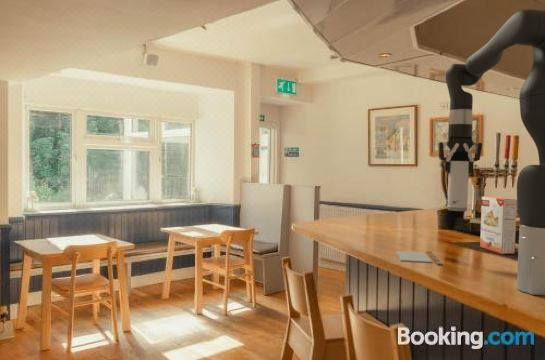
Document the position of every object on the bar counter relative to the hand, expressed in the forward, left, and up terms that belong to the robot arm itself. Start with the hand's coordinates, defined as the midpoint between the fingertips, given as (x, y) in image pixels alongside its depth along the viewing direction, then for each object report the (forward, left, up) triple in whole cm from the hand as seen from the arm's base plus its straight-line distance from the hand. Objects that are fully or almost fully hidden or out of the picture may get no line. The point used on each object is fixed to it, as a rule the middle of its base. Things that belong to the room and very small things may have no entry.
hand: (458, 173), depth 155 cm
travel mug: (0, 0, -13) cm, 13 cm away
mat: (+3, +14, -30) cm, 33 cm away
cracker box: (+26, -21, -30) cm, 45 cm away
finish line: (+3, +7, -30) cm, 31 cm away
